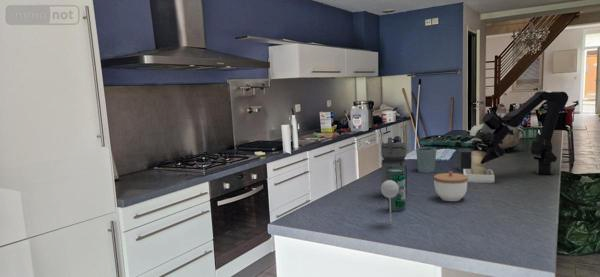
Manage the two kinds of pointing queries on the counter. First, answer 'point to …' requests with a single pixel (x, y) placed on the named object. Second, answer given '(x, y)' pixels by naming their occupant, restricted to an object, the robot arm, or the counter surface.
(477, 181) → the tray
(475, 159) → the canister
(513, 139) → the jug
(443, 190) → the lidded bowl
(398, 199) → the can
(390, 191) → the lollipop
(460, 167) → the small box
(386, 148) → the beverage bottle
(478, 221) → the counter surface
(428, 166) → the drinking glass
